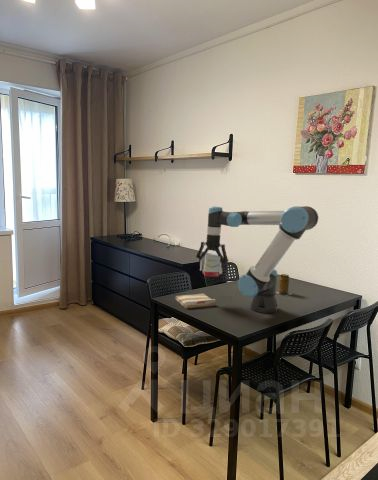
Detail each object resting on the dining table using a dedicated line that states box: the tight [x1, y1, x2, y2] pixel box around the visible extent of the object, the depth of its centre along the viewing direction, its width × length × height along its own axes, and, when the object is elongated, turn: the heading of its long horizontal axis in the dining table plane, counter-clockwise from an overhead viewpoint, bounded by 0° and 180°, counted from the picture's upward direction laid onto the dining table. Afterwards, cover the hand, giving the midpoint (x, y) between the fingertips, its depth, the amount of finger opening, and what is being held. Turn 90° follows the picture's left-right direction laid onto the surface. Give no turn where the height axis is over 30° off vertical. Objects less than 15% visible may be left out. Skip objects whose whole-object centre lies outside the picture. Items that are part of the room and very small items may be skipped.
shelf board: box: [174, 293, 217, 309], centre depth 211 cm, size 16×18×3 cm
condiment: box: [275, 273, 293, 297], centre depth 236 cm, size 7×8×12 cm
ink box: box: [202, 252, 221, 278], centre depth 211 cm, size 9×9×12 cm
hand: (210, 271), depth 212 cm, fingers closed on ink box, 11 cm apart
